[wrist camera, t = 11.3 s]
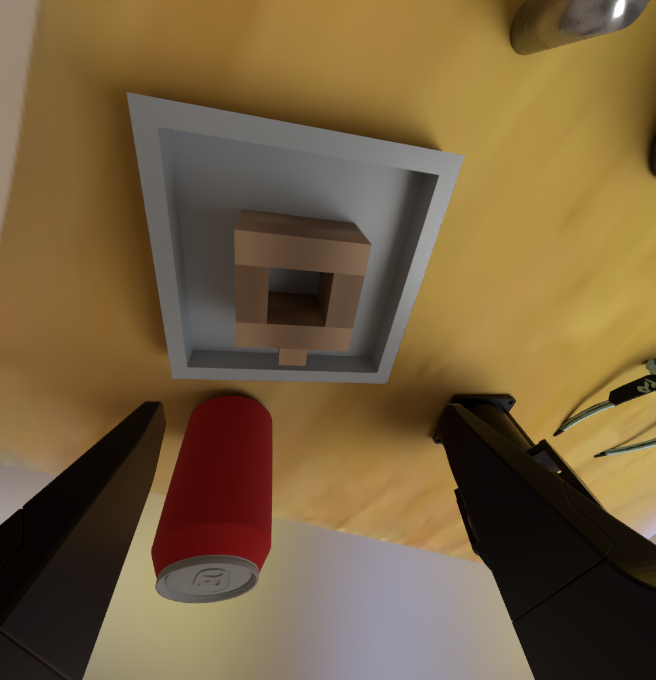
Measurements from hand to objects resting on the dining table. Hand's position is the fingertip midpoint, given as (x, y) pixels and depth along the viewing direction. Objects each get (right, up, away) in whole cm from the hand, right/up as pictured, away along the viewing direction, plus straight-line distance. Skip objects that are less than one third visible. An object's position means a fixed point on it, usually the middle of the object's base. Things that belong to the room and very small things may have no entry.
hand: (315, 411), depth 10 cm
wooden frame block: (-2, +7, +10) cm, 12 cm away
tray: (-2, +7, +10) cm, 12 cm away
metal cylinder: (+10, +17, +5) cm, 20 cm away
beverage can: (-8, -4, +17) cm, 19 cm away
